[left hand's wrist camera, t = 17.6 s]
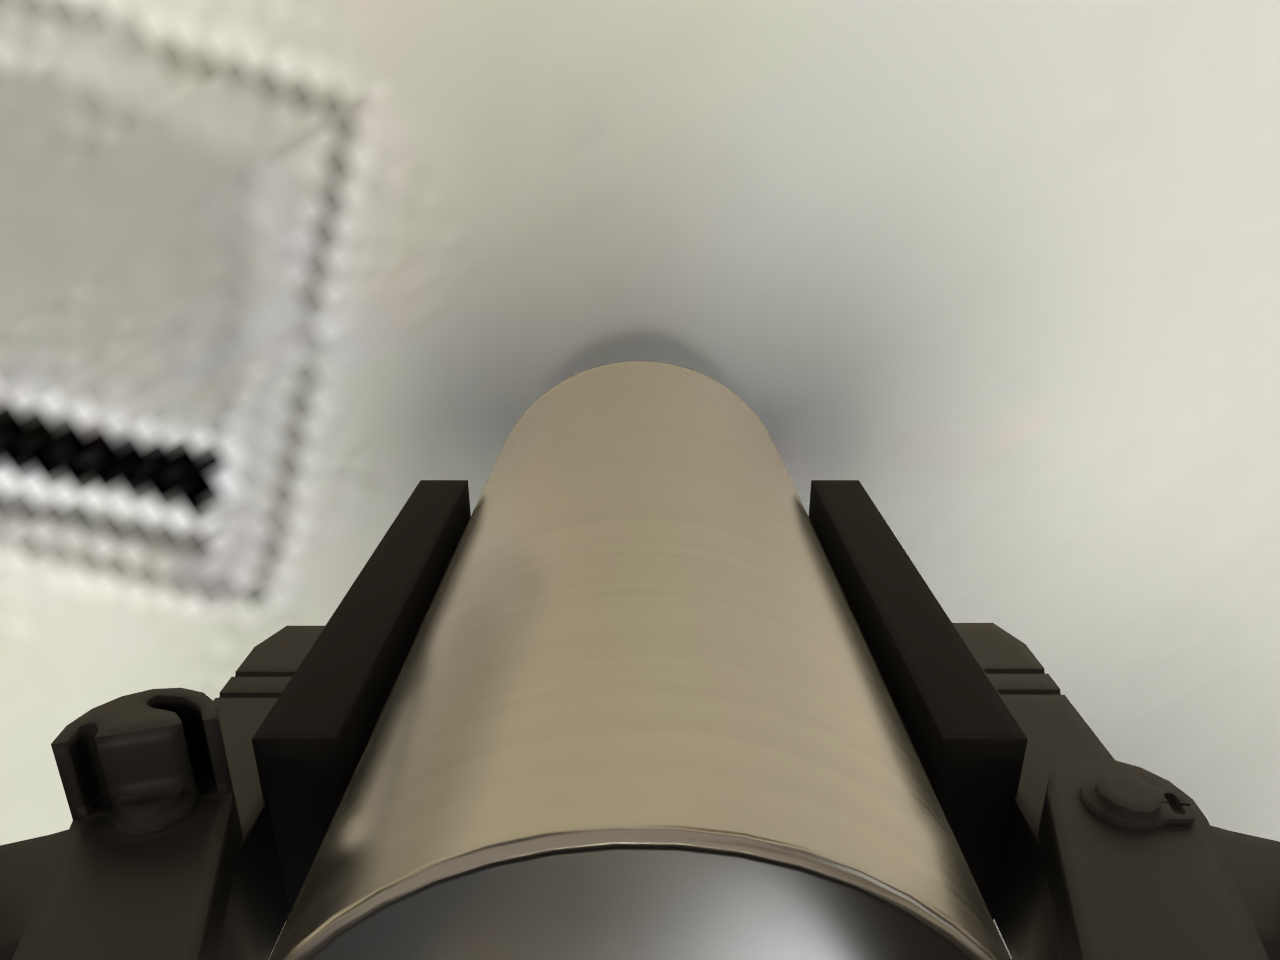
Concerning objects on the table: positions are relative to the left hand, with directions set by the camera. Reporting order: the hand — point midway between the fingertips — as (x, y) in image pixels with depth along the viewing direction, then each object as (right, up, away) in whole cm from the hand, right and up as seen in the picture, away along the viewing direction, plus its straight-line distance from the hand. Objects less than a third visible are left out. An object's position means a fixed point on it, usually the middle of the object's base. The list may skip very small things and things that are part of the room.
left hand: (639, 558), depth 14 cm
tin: (0, +1, +2) cm, 2 cm away
